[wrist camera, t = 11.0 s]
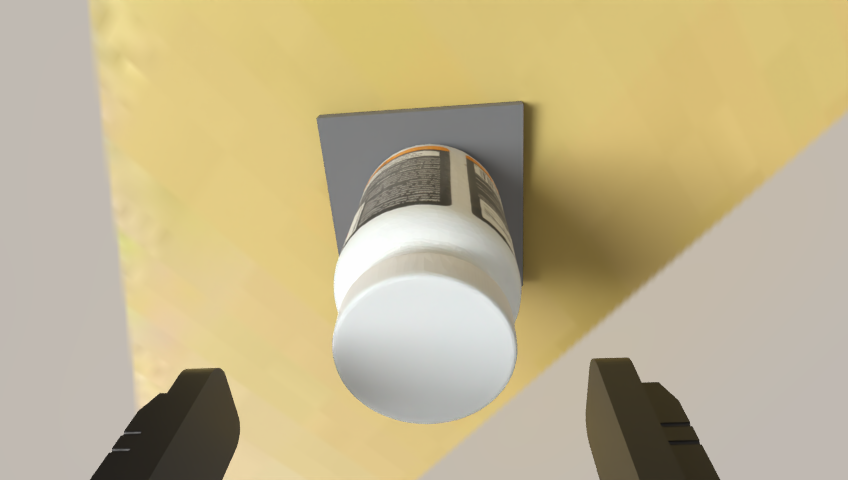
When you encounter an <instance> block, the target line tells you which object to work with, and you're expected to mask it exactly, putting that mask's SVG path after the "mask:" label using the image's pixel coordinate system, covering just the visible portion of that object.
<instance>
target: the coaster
mask: <svg viewBox="0 0 848 480" xmlns="http://www.w3.org/2000/svg"><path fill="white" fill-rule="evenodd" d="M317 124H318V130H319V136H320V142H321V148H322V155H323V161H324V167H325V173H326V179H327V185H328V191H329V197H330V204H331V210H332V216H333V222H334V228H335V234H336V240H337V247H338V253H339V256H340V254H341V251H342V248H343V246H344V243H345V240H346V238H347V235H348V232H349V230H350V227H351V225H352V222H353V220H354V217H355V214H356V212H357V209H358V207H359V204H360V201H361V198H362V195H363V193H364V190H365V188H366V185H367V183H368V181H369V179H370V178H371V176H372V175H373V173H374V172H375V171H376V169H377V168H378V167H379V166H380V165H381V164H382V163H383V162H384V161H385V160H387V159H388V158H389V157H391V156H392V155H393V154H395V153H397V152H399V151H401V150H403V149H406V148H409V147H413V146H416V145H425V144H436V145H444V146H449V147H452V148H456V149H458V150H460V151H463V152H465V153H466V154H468V155H469V156H471V157H472V158H474V159H475V160H476V161H477V162H479V163H480V164H481V165H482V166H483V167H484V168H485V169H486V171H487V172H488V173H489V175H490V176H491V178H492V180H493V181H494V184H495V186H496V188H497V190H498V193H499V196H500V199H501V203H502V207H503V211H504V215H505V219H506V222H507V226H508V229H509V233H510V237H511V239H512V244H513V248H514V253H515V257H516V261H517V265H518V269H519V272H520V278H521V285H522V286H523V103H522V101H516V102H501V103H487V104H472V105H458V106H443V107H429V108H414V109H400V110H385V111H371V112H356V113H341V114H327V115H319V116H318V117H317Z"/></svg>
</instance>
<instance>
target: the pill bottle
mask: <svg viewBox="0 0 848 480" xmlns="http://www.w3.org/2000/svg"><path fill="white" fill-rule="evenodd" d="M521 286H522V285H521V278H520V272H519V269H518V265H517V261H516V257H515V253H514V248H513V244H512V239H511V237H510V233H509V229H508V226H507V222H506V219H505V215H504V211H503V207H502V203H501V199H500V196H499V193H498V190H497V188H496V186H495V184H494V181H493V180H492V178H491V176H490V175H489V173H488V172H487V171H486V169H485V168H484V167H483V166H482V165H481V164H480V163H479V162H477V161H476V160H475V159H474V158H472V157H471V156H469V155H468V154H466V153H465V152H463V151H460V150H458V149H456V148H452V147H449V146H444V145H436V144H425V145H416V146H413V147H409V148H406V149H403V150H401V151H399V152H397V153H395V154H393V155H392V156H391V157H389V158H388V159H387V160H385V161H384V162H383V163H382V164H381V165H380V166H379V167H378V168H377V169H376V171H375V172H374V173H373V175H372V176H371V178H370V179H369V181H368V183H367V185H366V188H365V190H364V193H363V195H362V198H361V201H360V204H359V207H358V209H357V212H356V214H355V217H354V220H353V222H352V225H351V227H350V230H349V232H348V235H347V238H346V240H345V243H344V246H343V248H342V251H341V254H340V256H339V259H338V262H337V265H336V270H335V275H334V296H335V302H336V306H337V310H338V317H337V321H336V325H335V329H334V334H333V341H332V349H333V358H334V362H335V365H336V368H337V371H338V373H339V376H340V378H341V380H342V381H343V383H344V384H345V386H346V387H347V388H348V390H349V391H350V392H351V393H352V394H353V395H354V396H355V397H356V398H357V399H358V400H359V401H361V402H362V403H363V404H364V405H366V406H367V407H369V408H370V409H372V410H374V411H375V412H377V413H379V414H382V415H384V416H387V417H389V418H392V419H395V420H399V421H403V422H409V423H417V424H436V423H444V422H449V421H454V420H458V419H461V418H464V417H466V416H469V415H471V414H473V413H475V412H477V411H479V410H481V409H482V408H484V407H485V406H487V405H488V404H489V403H491V402H492V401H493V400H494V399H495V398H496V397H497V396H498V395H499V394H500V393H501V392H502V390H503V389H504V388H505V386H506V385H507V383H508V382H509V380H510V378H511V376H512V373H513V371H514V368H515V364H516V359H517V339H516V331H515V325H514V323H515V321H516V318H517V315H518V312H519V307H520V301H521Z"/></svg>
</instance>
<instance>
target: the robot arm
mask: <svg viewBox="0 0 848 480" xmlns="http://www.w3.org/2000/svg"><path fill="white" fill-rule="evenodd" d="M586 428H587V435H588V440H589V444H590V448H591V451H592V454H593V458H594V461H595V465H596V468H597V472H598V475H599V478H600V480H720V479H719V477H718V475H717V473H716V471H715V469H714V467H713V465H712V463H711V461H710V460H709V458H708V456H707V454H706V452H705V450H704V448H703V446H702V445H700V443H699V439H698V437H697V435H696V433H695V431H694V429H693V427H692V426H690V421H689V419H688V418H687V416H686V414H685V412H684V410H683V408H682V406H681V404H680V402H679V401H678V400H677V399H676V398H675V397H674V396H673V395H672V394H671V393H670V392H668V391H667V390H666V389H665V388H664V387H663V386H662V385H661V384H660V383H659V382H651V383H641V381H640V379H639V376H638V374H637V372H636V370H635V367H634V365H633V363H632V361H631V360H630V359H629V358H599V359H598V358H597V359H592V360H591V362H590V369H589V382H588V393H587V404H586ZM239 435H240V422H239V417H238V414H237V410H236V407H235V404H234V401H233V398H232V395H231V391H230V388H229V385H228V382H227V379H226V376H225V373H224V371H223V370H222V369H220V368H204V369H185V370H183V371H182V372H181V373H180V375H179V376H178V378H177V379H176V381H175V382H174V384H173V385H172V387H171V388H170V390H169V391H168V393H160V394H158V395H157V396H156V397H155V398H154V399H152V400H151V401H150V402H149V403H148V404H146V405H145V406H144V407H143V408H142V409H140V410H139V411H138V412H137V414H136V415H135V417H134V418H133V419H132V421H131V422H130V424H129V425H128V427H127V428H126V429H125V431H124V435H123V436H120V438H119V439H118V441H117V442H116V444H115V445H114V446H113V448H112V452H111V453H109V454H108V455H107V456H106V458H105V459H104V461H103V462H102V463H101V465H100V466H99V468H98V469H97V471H96V472H95V474H94V475H93V476H92V478H91V479H90V480H222V479H223V477H224V474H225V472H226V470H227V468H228V466H229V463H230V461H231V459H232V457H233V454H234V452H235V450H236V447H237V444H238V440H239Z"/></svg>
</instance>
